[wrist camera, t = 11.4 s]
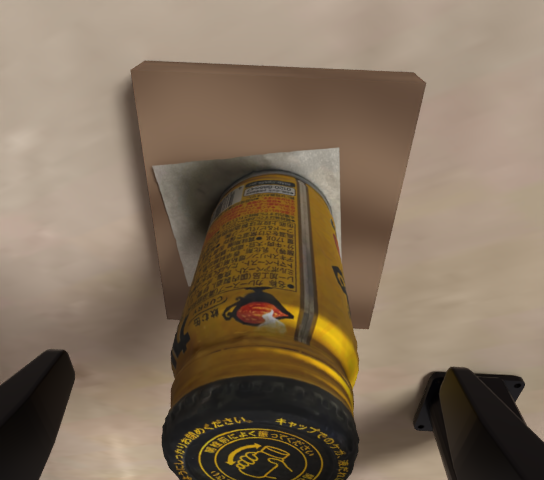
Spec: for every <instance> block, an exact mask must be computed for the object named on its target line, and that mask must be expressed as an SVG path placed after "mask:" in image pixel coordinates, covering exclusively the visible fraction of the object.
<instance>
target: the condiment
mask: <svg viewBox="0 0 544 480" xmlns="http://www.w3.org/2000/svg"><path fill="white" fill-rule="evenodd" d="M152 167H153V170H154V173H155V177H156V180H157V182H158V184H159V187H160V191H161V194H162V197H163V200H164V204H165V207H166V211H167V214H168V216H169V219H170V223H171V227H172V230H173V234H174V237H175V239H176V243H177V248H178V251H179V255H180V259H181V261H182V264H183V268H184V273H185V276H186V280H187V283H188V286H190V290H189V293H188V297H187V300H186V303H185V306H184V309H183V312H182V316H181V319H180V322H179V325H178V329H177V332H176V334H175V339H174V343H173V347H172V350H171V365H172V370H173V374H174V377H175V380H174V382H173V384H172V388H171V409H170V410H169V412H168V415H167V417H166V418H165V423H164V425H163V427H162V428H163V433H162V448H163V453H164V457H165V459H166V461H167V463H168V466H169V468H170V469H171V470H172V471H173V472H174V473H175V474H176V476H177V477H178V478H179V480H346V479H347V478H348V477H349V475H350V474H351V473H352V470H353V466H354V461H355V459H356V457H357V454H358V443H359V437H358V434H357V431H356V425H355V421H354V415H353V410H354V399H353V391H352V389H353V387H354V384H355V381H356V379H357V374H358V371H359V366H358V365H359V358H358V353H357V341H356V338H355V335H354V332H353V326H352V322H351V312H350V308H349V301H348V295H347V292H346V287H345V281H344V275H343V267H342V256H341V213H340V159H339V148H330V149H317V150H303V151H293V152H281V153H269V154H264V155H252V156H245V157H235V158H230V159H214V160H204V161H192V162H185V163H179V164H169V165H157V166H152Z"/></svg>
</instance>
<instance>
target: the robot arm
mask: <svg viewBox="0 0 544 480" xmlns="http://www.w3.org/2000/svg"><path fill="white" fill-rule="evenodd" d="M74 380H75V371H74V368H73V366H72V363H71V360H70V358H69V355H68V353H67V352H66V351H65V350H58V349H49V350H46V351H45V352H43V353H42V354H40V355H39V356H38V357H37V358H35V359H34V360H33V361H31V362H30V363H29V364H27V365H26V366H25V367H24V368H22V369H21V370H20V371H18V372H17V373H16V374H14V375H13V376H12V377H11V378H9V379H8V380H7V381H5V382H4V383H3V384H1V385H0V480H39V478H40V476H41V474H42V471H43V469H44V467H45V464H46V462H47V460H48V458H49V455H50V453H51V450H52V448H53V445H54V443H55V440H56V437H57V434H58V431H59V428H60V425H61V422H62V418H63V415H64V412H65V409H66V406H67V403H68V400H69V397H70V393H71V390H72V387H73V384H74ZM524 386H525V383H524V381H523V379H522V378H521V377H518V376H499V375H479V374H474V373H473V372H472V371H471V370H469V369H468V368H464V367H450V368H449V369H448V370H447V373H434V374H433V375H431V377H430V380H429V382H428V385H427V387H426V390H425V393H424V395H423V398H422V400H421V403H420V405H419V408H418V411H417V413H416V416H415V418H414V421H413V425H414V428H415V429H416V430H419V431H433V433H434V436H435V439H436V442H437V446H438V449H439V452H440V455H441V458H442V462H443V465H444V468H445V471H446V475H447V478H448V480H544V442H543V441H542V440H541V439H540V438H539V437H538V436H537V435H536V434H535V433H534V432H533V431H532V430H531V429H530V428H529V427H528V426H527V424H526V423H525V421H524V419H523V417H522V415H521V413H520V411H519V409H518V407H517V405H516V403H515V402H516V400H517V398H518V396H519V395H520V393H521V391H522V390H523V388H524Z"/></svg>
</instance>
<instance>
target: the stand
mask: <svg viewBox="0 0 544 480" xmlns="http://www.w3.org/2000/svg"><path fill="white" fill-rule="evenodd" d="M131 76H132V83H133V90H134V97H135V103H136V110H137V117H138V124H139V131H140V137H141V144H142V151H143V158H144V164H145V171H146V178H147V185H148V192H149V198H150V205H151V212H152V219H153V225H154V232H155V239H156V246H157V253H158V259H159V266H160V273H161V280H162V286H163V293H164V300H165V307H166V314H167V319H174V320H180V319H181V316H182V312H183V309H184V306H185V303H186V300H187V297H188V293H189V290H190V286H188V283H187V280H186V276H185V273H184V268H183V264H182V261H181V259H180V255H179V251H178V248H177V243H176V239H175V237H174V234H173V230H172V227H171V223H170V219H169V216H168V214H167V211H166V207H165V204H164V200H163V197H162V194H161V191H160V187H159V184H158V182H157V180H156V177H155V173H154V170H153V167H152V166H157V165H169V164H179V163H185V162H192V161H204V160H214V159H230V158H235V157H245V156H252V155H264V154H269V153H281V152H293V151H303V150H317V149H330V148H339V159H340V213H341V256H342V267H343V275H344V281H345V287H346V292H347V295H348V301H349V308H350V312H351V322H352V326H353V328H356V329H369V326H370V321H371V317H372V313H373V308H374V304H375V300H376V296H377V291H378V287H379V283H380V279H381V274H382V270H383V266H384V261H385V257H386V253H387V249H388V244H389V240H390V236H391V231H392V227H393V223H394V219H395V214H396V210H397V206H398V201H399V197H400V193H401V189H402V184H403V180H404V176H405V172H406V167H407V163H408V159H409V154H410V150H411V146H412V142H413V137H414V133H415V129H416V124H417V120H418V116H419V112H420V107H421V103H422V99H423V94H424V90H425V86H426V83H425V82H424V81H423V80H422V79H421V78H419V77H418V76H417V75H416V74H415V73H412V72H389V71H367V70H344V69H321V68H299V67H276V66H253V65H231V64H208V63H185V62H162V61H144V62H142V63H141V64H139V65H138V66H136V67H135V68H133V69H131Z"/></svg>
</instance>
